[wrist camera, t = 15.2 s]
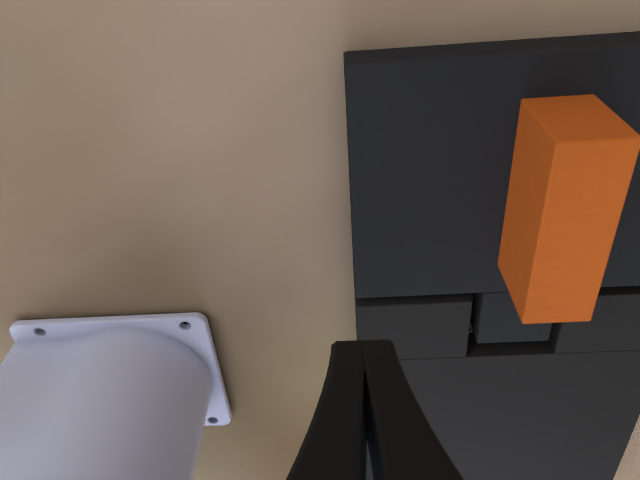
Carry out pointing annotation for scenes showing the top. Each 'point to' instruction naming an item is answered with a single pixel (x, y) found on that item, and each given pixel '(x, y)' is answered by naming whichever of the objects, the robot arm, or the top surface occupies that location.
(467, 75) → the charcoal pad
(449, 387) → the black pad
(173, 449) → the robot arm
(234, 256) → the top surface
